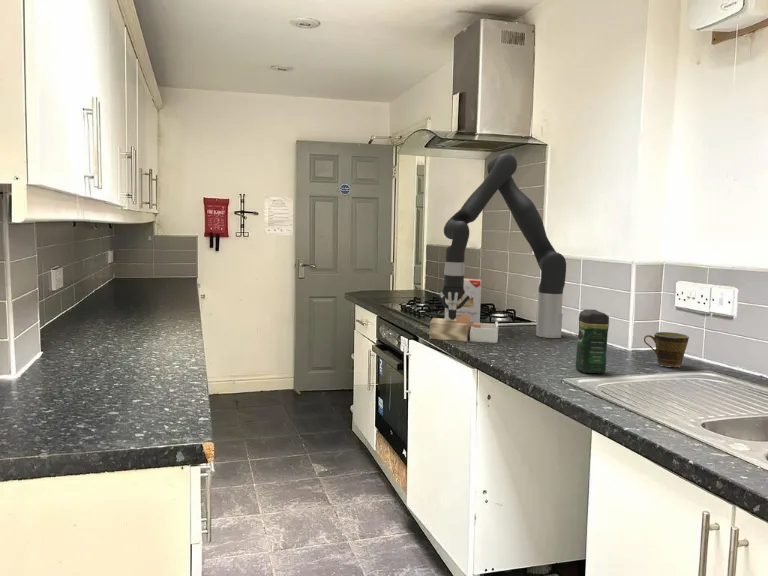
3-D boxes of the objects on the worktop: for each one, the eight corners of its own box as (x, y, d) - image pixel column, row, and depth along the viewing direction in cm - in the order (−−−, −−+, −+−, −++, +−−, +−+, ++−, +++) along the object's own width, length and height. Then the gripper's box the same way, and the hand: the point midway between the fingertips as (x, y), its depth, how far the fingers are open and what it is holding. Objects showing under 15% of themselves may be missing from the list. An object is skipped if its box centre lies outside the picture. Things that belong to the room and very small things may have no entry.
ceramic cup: (682, 363, 198) (685, 333, 197) (689, 370, 188) (692, 338, 187) (639, 360, 201) (642, 330, 200) (644, 366, 192) (646, 335, 190)
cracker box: (443, 329, 249) (445, 278, 247) (445, 326, 255) (447, 277, 253) (478, 331, 246) (480, 280, 243) (479, 329, 252) (481, 278, 249)
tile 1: (470, 321, 233) (470, 315, 233) (469, 323, 228) (469, 317, 228) (456, 320, 234) (457, 314, 233) (456, 322, 229) (456, 316, 228)
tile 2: (473, 335, 233) (480, 335, 233) (473, 337, 228) (480, 338, 228) (474, 322, 233) (480, 322, 232) (473, 324, 228) (480, 324, 227)
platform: (468, 335, 237) (468, 320, 237) (467, 341, 225) (467, 324, 225) (432, 333, 239) (432, 318, 239) (429, 338, 228) (429, 322, 227)
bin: (496, 336, 235) (497, 321, 235) (497, 342, 224) (498, 326, 223) (470, 335, 237) (471, 320, 236) (469, 341, 225) (470, 325, 225)
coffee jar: (609, 375, 179) (613, 312, 177) (582, 374, 179) (586, 312, 177) (597, 367, 189) (602, 308, 187) (572, 366, 189) (576, 307, 187)
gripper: (472, 274, 232) (469, 319, 234) (437, 272, 234) (435, 316, 236) (471, 275, 225) (469, 322, 227) (435, 273, 227) (433, 319, 229)
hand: (452, 319), depth 232 cm, fingers closed
